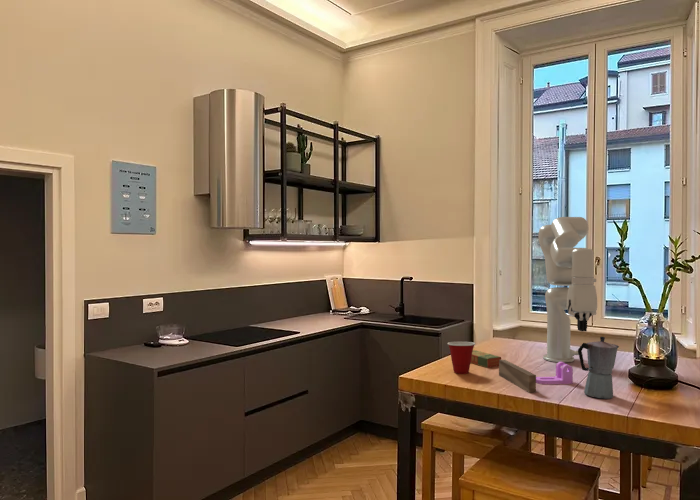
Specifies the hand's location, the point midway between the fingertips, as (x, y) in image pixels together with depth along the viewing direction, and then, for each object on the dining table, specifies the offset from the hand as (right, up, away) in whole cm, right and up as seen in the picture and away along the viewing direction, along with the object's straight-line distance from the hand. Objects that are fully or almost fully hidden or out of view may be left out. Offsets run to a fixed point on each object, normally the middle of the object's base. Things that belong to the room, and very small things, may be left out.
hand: (582, 330), depth 200 cm
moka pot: (-3, -19, -19) cm, 27 cm away
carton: (-31, -19, +29) cm, 46 cm away
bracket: (-12, -19, -1) cm, 22 cm away
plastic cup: (-42, -19, +13) cm, 48 cm away
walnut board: (-26, -19, -4) cm, 32 cm away
